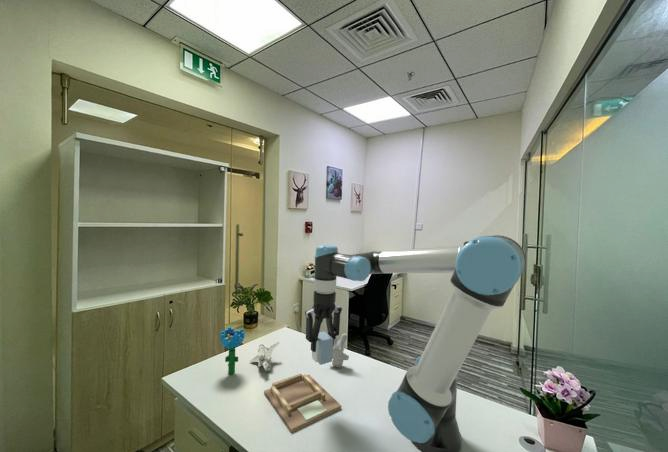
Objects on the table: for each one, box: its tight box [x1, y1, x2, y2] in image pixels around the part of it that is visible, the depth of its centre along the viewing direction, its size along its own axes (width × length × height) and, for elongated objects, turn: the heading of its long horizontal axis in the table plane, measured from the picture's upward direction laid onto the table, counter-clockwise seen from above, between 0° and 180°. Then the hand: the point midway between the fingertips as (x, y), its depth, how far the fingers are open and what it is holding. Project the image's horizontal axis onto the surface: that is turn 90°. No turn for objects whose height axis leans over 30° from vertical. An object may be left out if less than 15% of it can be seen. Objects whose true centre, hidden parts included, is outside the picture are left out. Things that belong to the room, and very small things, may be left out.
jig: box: [263, 373, 342, 434], centre depth 95 cm, size 22×19×3 cm
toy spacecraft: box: [249, 341, 280, 372], centre depth 115 cm, size 8×15×15 cm
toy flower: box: [219, 326, 245, 376], centre depth 111 cm, size 9×9×18 cm
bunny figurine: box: [331, 333, 350, 369], centre depth 118 cm, size 10×5×15 cm, turn 78°
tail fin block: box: [311, 331, 333, 365], centre depth 92 cm, size 6×4×8 cm
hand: (321, 358), depth 92 cm, fingers closed on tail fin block, 4 cm apart
